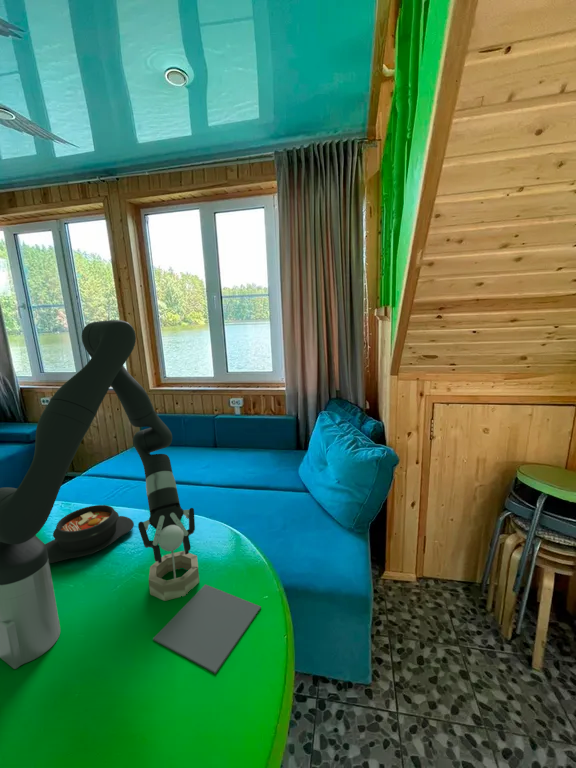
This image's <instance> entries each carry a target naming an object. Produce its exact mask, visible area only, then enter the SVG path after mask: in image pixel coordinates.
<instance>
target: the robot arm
mask: <svg viewBox="0 0 576 768" xmlns="http://www.w3.org/2000/svg"><path fill="white" fill-rule="evenodd" d="M81 341H82V345H83V346H84V349H85V350H86V352H87V354H88V355H89V356H90V360H89V361H88V362H87V363H86V364H85V366H83V368H81V369H80V370H79V371H78V372H76V374H74V375H73V376H72V377H71V378H69V379H68V380H67V381H66V382H65V383H64V384H62V385H61V386H60V387H59V388H58V389H57V390H56V392H54V394H53V395H52V397H51V399H50V400H49V401H48V403H47V405H46V406H45V408H44V410H43V412H42V413H41V415H40V417H39V419H38V421H37V425H36V430H35V431H36V432H35V442H34V443H35V444H34V445H35V446H34V455H33V458H32V461H31V463H30V466H29V468H28V470H27V472H26V473H25V476H24V477H23V479H22V481H21V483H20V484H19V486H18V487H17V488H15V487H0V659H1V660H2V661H4V662H5V663H6V664H7V665H9V667H11V668H12V669H13V670H17V669H18V668H19V667H20V666H22V665H24V664H27V663H29V662H32V661H34V660H35V659H38V658H40V657H41V656H42V655H44V654H45V653H47V652H48V651H49V650H50V649H51V648H52V647H53V646H54V645H55V643H57V641H58V639H59V637H60V634H61V625H60V619H59V614H58V607H57V601H56V596H55V595H56V594H55V590H54V589H55V588H54V583H53V578H52V572H51V565H50V563H49V559H48V552H47V548H46V545H45V544H46V543H44V542H43V541H42V540H41V539H40V538H39V537H38V536H37V534H38V533H39V532H40V531H41V530H42V528H43V527H44V525H46V523H47V521H48V518H49V517H50V514H51V512H52V510H53V508H54V505H55V502H56V500H57V497H58V496H59V492H60V490H61V487H62V484H63V482H64V480H65V477H66V474H67V472H68V470H69V468H70V465H72V461H73V460H74V458H75V456H76V453H77V451H78V449H79V447H80V445H81V443H82V441H83V439H84V437H85V436H86V434H87V432H88V430H89V428H90V427H91V425H92V423H93V421H94V420H95V417H96V415H97V413H98V411H99V408H100V406H101V404H102V403H103V401H104V399H105V396H106V395H107V393H108V391H109V390H110V387H111V388H112V390H113V391H114V393H115V394H116V396H117V398H118V400H119V403H121V405H122V406H121V407H122V408H123V409H124V412H125V414H126V416H127V418H128V421H129V423H130V424H131V425H132V426H133V427H135V428H144V429H141V430H139V431H137V432H136V433H134V435H133V437H132V444H133V447H134V448H135V450H136V452H137V454H138V455H139V459H140V460H141V463H142V465H143V466H142V467H143V470H144V475H145V476H144V477H145V489H146V490H145V491H146V497H147V503H148V509H149V518H148V519H147V520H145V521H140V522H138V524H137V525H138V530H139V534H140V537H141V540H142V543H143V547H145V548H146V549H147V548H151V549H152V550H153V557H154V561H155V562H157V561H158V563H162V559H161V558H162V554H161V547H160V545H159V543H158V537H159V534H160V532H161V531H162V530H163V529H164V528H165V527H166V526H169V525H176V526H178V527H180V528H181V529H182V530H183V533H184V537H183V541H182V545H183V551H185V555H186V554H188V553H190V551H191V546H192V545H191V542H190V538H189V537H190V536H191V535H193V534H194V533H195V531H196V526H195V509H194V507H190V508H188V509H183V508H182V506H181V504H180V497H179V493H178V488H177V483H176V478H175V476H174V473H173V468H172V464H171V463H172V462H171V460H170V457H169V455H168V454H165V453H154V452H156V451H160V450H163V449H165V448H167V447H169V446H171V444H172V441H173V434H172V431H171V430H170V428H169V427H168V425H167V424H165V422H164V421H163V420H162V419H161V418H160V417H159V415H158V413H157V412H156V410H155V408H154V406H153V403H152V401H151V398H150V397H149V395H148V392H146V390H145V389H144V387H143V386H142V385H141V384H140V383H139V382H138V381H137V380H136V379H135V378H134V377H133V375H131V374H130V372H129V371H128V370H127V369H126V368H125V366H124V365H125V364H126V362H127V361H128V359H129V357H130V356H131V355H132V352H133V350H134V349H135V345H136V341H137V337H136V331H135V328H134V327H133V326H132V325H131V324H130V323H129V322H128V321H125V320H120V319H111V320H100V321H99V320H98V321H92V322H89V323H88V324H86V326H84V328H83V330H82V332H81ZM147 427H148V428H147ZM151 453H153V454H151ZM183 516H185V519H188V529H187V528H186V527H185V526H184V524H183V523H182V522H181V520H182V518H183ZM149 525H150V526H152V527H153V528H154V529H155V533H154V537H153V540H150V537H149V536H148V533H147V532H148V530H149Z"/></svg>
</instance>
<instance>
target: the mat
mask: <svg viewBox="0 0 576 768" xmlns="http://www.w3.org/2000/svg"><path fill="white" fill-rule="evenodd" d="M261 609H262V606H260V605H258V604H257V603H256V604H255V603H254V602H250V601H249V600H246V599H243V598H241V597H238V596H236V595H233V594H231V593H228V592H226V591H223V590H221V589H218V588H215V587H214V586H210V585H209V584H206V583H205V584H204V585H203V586H201V588H200V589H199V590H198V591H197V592H196V594H194V595H193V596H192V597H191V599H190V600H189V601H187V602H186V604H184V606H183V607H182V608H181V609H179V611H178V612H177V613H176V614H175V615H174V616H173V617H172V618H171V619H170V620H169V621H168V622H167V623H166V624H165V625H164V626H163V628H162V629H160V631H158V633H157V634H155V636H154V637H153V638H152V641H154V642H156V643H158V644H160V645H162V646H164V647H165V648H167V649H168V650H171V652H172V651H173V652H174V653H176V654H178V655H180V656H182V657H184V658H186V659H188V660H189V661H191V662H193V663H195V664H196V665H198V666H200V667H202V668H204V669H206V670H207V671H209V672H211V673H213V674H215V675H216V674H217V672H218V671H219V670H220V668H221V666H222V665H223V664H224V663H225V661H226V660H227V658H228V657H229V656H230V654H231V652H232V651H233V650H234V648H235V646H236V645H237V644H238V642H239V641H240V639H241V638H242V636H243V634H244V633H245V631H246V630H247V629H248V627H249V626H250V625H251V623H252V622H253V620H254V619H255V618H256V616H257V615H258V613H259V612H260V610H261ZM258 611H259V612H258ZM256 614H257V615H256Z"/></svg>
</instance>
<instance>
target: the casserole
mask: <svg viewBox="0 0 576 768" xmlns="http://www.w3.org/2000/svg"><path fill="white" fill-rule="evenodd" d="M134 525H135V524H134V521H133V519H131V518H129V517H128V516H126V515H125V516H124V515H119V513H118V512H117V511H116V510H115V509H114V508H113V507H112V506H111V505H107V504H97V505H91V506H86V507H83V508H79V509H76V510H74V511H72V512H70V513H68V514H67V515H66V514H65V516H63V517H62V518H61V519H59V520H58V522H57V524H56V526H55V529H54V530H53V533H52V537H53V539H52V540H51V541H48V542H46V543H44V544H45V545H46V548H47V552H48V559H49V564H54V563H57V562H62V561H64V560H68V559H75V558H79V557H80V558H81V557H84V556H89V555H91V554H94V553H97V552H99V551H101V550H103V549H105V548H107V547H109V546H110V545H111V544H113V543H114V542H115V541H117V540H118V539H119V538H121V537H122V536H124V535H126V534H128V533H129V532H131V531H132V530H133V529H134Z"/></svg>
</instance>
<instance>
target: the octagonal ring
mask: <svg viewBox="0 0 576 768" xmlns="http://www.w3.org/2000/svg"><path fill="white" fill-rule="evenodd" d="M161 559H162V563H158V561H157V562H156V561H155V562H154V563H153V564H152V565H150V566H149V574H148V587H149V594H150V596H153V597H155V598H157V599H159V600H160V601H161V600H162V601H164V602H166V601H169V600H173V599H179V598H181V596H182V597H185V596H187V595H188V594H189V593H190V592H191V591H192V590H193V589H194V587H196V586H197V585H198V584H199V583H200V573H199V562H198V561H199V560H198V555H196V554H194V553H192V552H191V553H190V552H189V553H188V554H186V555H185V551H184V550H181V551H177V552H174V562H175V571H177V570H176V569H178V570H181V569H180V568H184V569H183V570H185V569H186V570H185V571H186V572H185V573H184V574H183V575H182V576H179V577H176V578H175V579H174V578H171V579H168V580H166V579H163V577H164V576H166V575H167V574H168V573H169V572H173V562H172V553H167V554H164V555H163V556H161ZM187 570H188V571H187ZM191 589H192V590H191ZM190 590H191V591H190ZM189 591H190V592H189ZM188 592H189V593H188ZM186 594H187V595H186Z"/></svg>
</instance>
